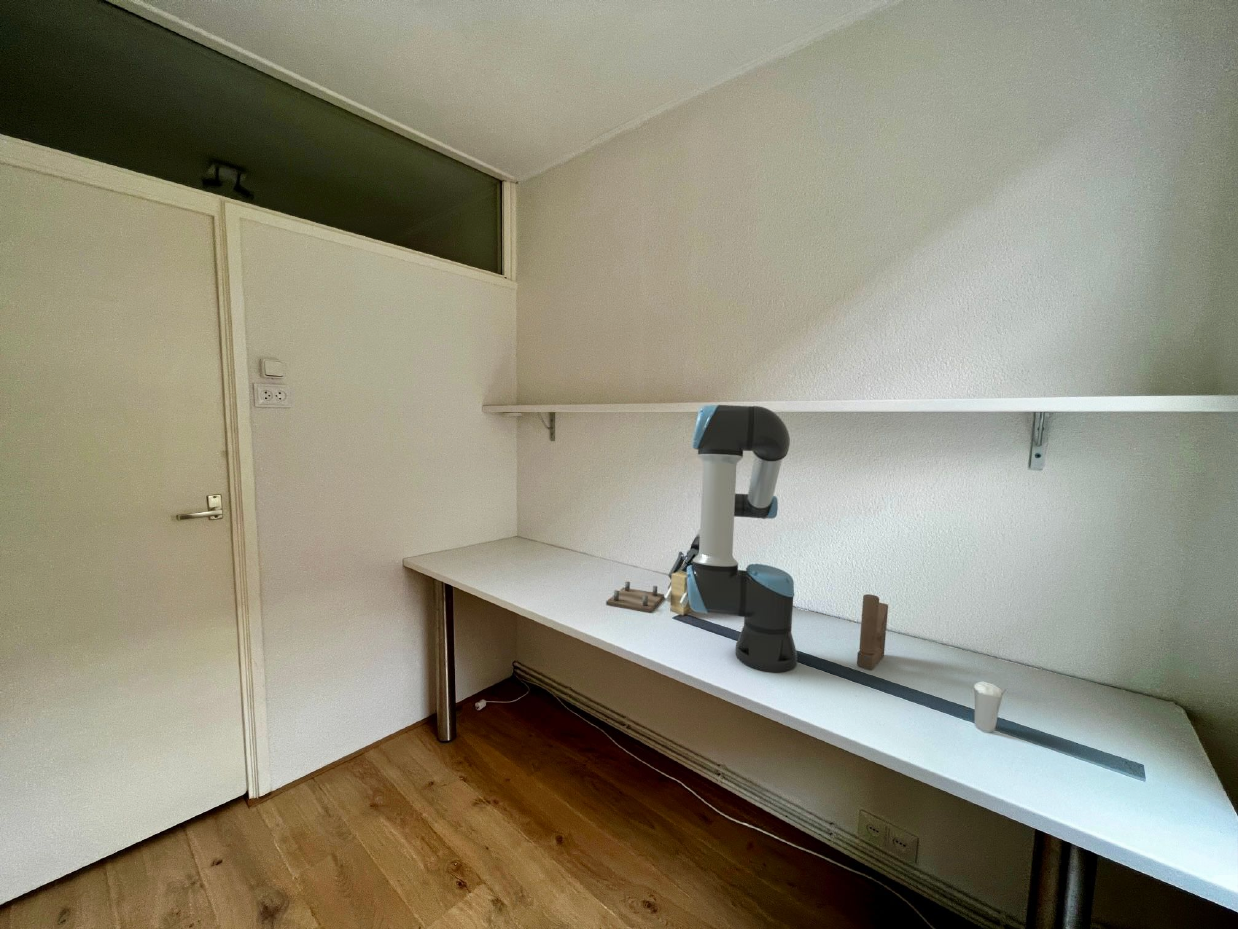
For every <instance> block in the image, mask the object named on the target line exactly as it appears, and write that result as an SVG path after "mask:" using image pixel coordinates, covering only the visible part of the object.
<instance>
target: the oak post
mask: <svg viewBox="0 0 1238 929" xmlns="http://www.w3.org/2000/svg"><path fill="white" fill-rule="evenodd" d="M670 582H671V601H670V602H669V603H670V606H669V607H670V609H669V611H670V612H673V613H675V614H678V615H681V616H685V615H686V614H689V613H691V612H693V610H692V609H691V607H690V604H689V600H688V602H687V604H686V606H685V607H683V606H682V605H681V603H680V601H681V599H682V597H683V595H684V593H685V591H686V589H687V572H684V571H679V572H676V573H673V574H672V577H671V579H670Z"/></svg>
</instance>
